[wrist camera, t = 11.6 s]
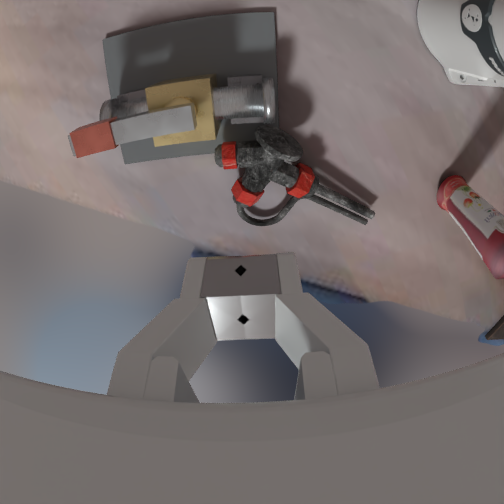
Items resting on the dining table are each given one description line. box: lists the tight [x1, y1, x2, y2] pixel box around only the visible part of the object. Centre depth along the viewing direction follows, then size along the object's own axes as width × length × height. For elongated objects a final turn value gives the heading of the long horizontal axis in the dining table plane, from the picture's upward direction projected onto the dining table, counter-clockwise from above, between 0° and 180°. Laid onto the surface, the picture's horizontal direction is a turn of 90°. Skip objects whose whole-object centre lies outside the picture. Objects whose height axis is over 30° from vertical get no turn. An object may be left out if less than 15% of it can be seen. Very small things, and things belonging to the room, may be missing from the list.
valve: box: [215, 125, 375, 226], centre depth 42 cm, size 6×26×15 cm
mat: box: [103, 12, 279, 164], centre depth 33 cm, size 22×19×1 cm
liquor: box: [437, 175, 504, 279], centre depth 32 cm, size 7×7×28 cm
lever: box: [68, 102, 197, 158], centre depth 27 cm, size 14×3×3 cm, turn 95°
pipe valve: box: [100, 74, 275, 147], centre depth 31 cm, size 20×7×8 cm, turn 93°
